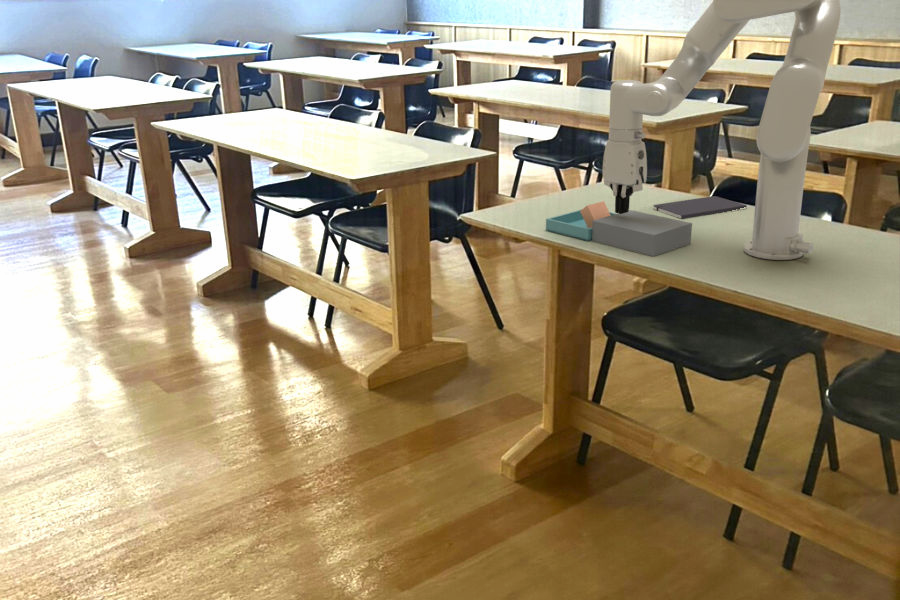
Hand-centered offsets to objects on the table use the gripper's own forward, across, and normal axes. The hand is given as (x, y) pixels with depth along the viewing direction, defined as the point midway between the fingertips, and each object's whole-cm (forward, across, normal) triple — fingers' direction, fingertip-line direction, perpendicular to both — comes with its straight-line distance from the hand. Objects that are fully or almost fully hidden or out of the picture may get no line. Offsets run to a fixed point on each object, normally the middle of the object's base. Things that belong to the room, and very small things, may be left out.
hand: (621, 212), depth 207 cm
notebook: (+7, +3, -36) cm, 37 cm away
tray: (+6, +10, 0) cm, 12 cm away
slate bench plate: (+6, -6, 0) cm, 9 cm away
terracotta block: (+2, +6, 0) cm, 7 cm away
